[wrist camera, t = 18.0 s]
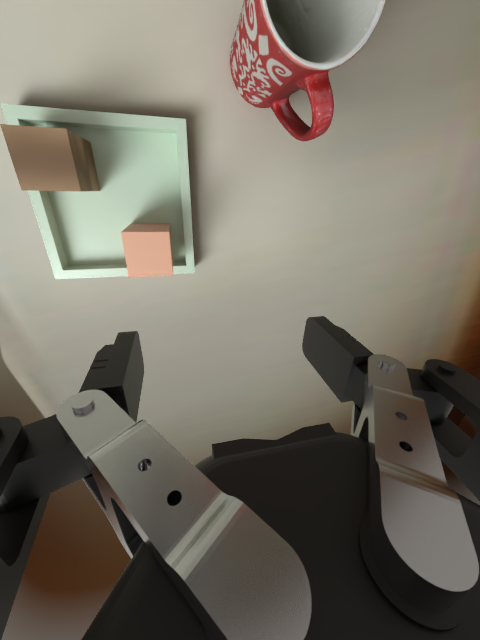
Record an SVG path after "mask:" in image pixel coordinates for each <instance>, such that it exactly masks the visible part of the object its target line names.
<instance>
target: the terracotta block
mask: <svg viewBox="0 0 480 640" xmlns="http://www.w3.org/2000/svg"><path fill="white" fill-rule="evenodd" d="M121 236H122V242H123V248H124V254H125V259H126V265H127V271H128V277H148V276H173V254H172V243H171V232H170V224H137V223H131V224H130V225H129V226H127V227H126V228H125V229H124V230H123V231H121Z"/></svg>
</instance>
